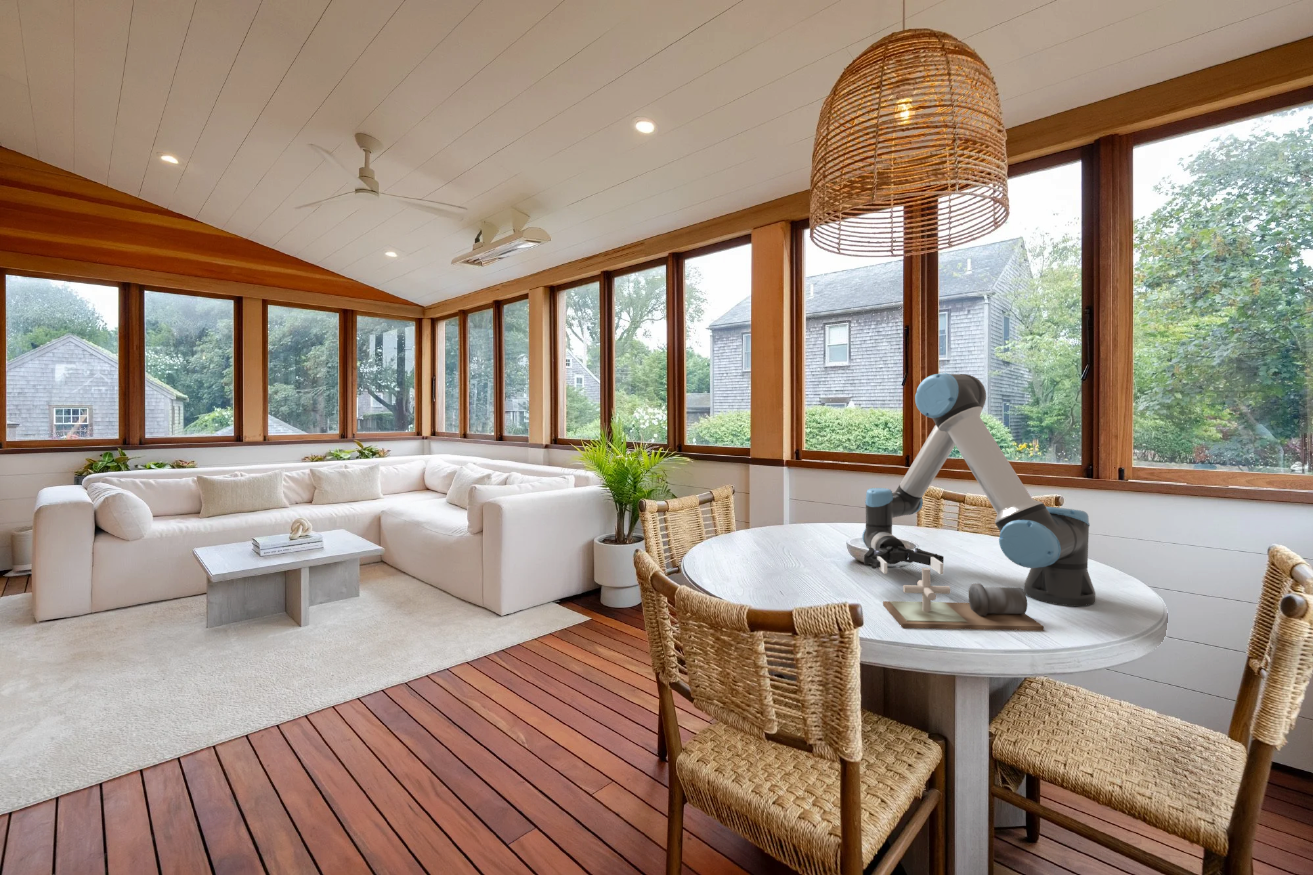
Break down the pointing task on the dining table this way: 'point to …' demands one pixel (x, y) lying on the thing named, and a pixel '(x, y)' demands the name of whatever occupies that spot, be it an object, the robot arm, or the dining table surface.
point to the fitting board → (970, 611)
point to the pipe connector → (926, 590)
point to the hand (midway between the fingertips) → (913, 568)
